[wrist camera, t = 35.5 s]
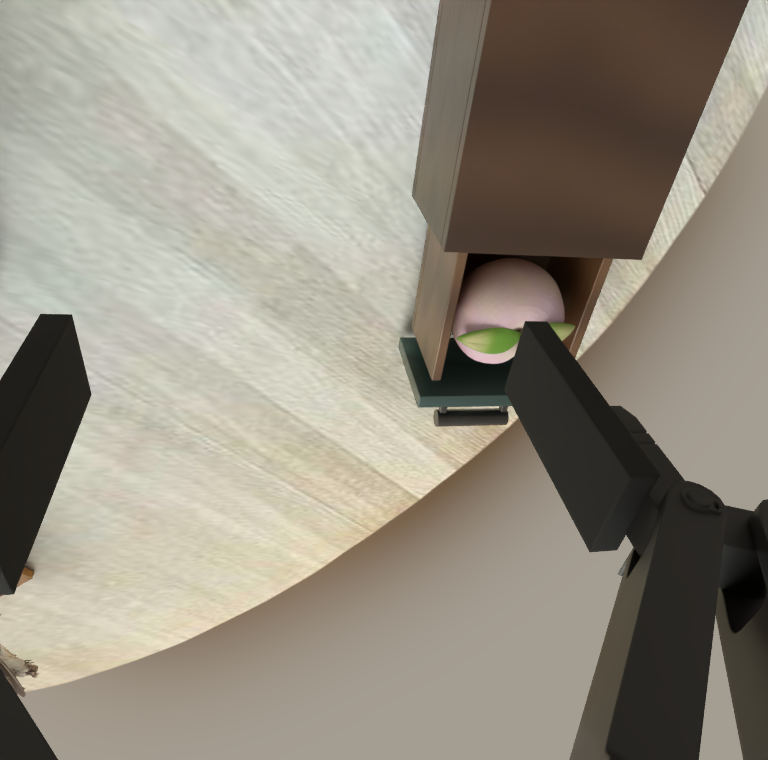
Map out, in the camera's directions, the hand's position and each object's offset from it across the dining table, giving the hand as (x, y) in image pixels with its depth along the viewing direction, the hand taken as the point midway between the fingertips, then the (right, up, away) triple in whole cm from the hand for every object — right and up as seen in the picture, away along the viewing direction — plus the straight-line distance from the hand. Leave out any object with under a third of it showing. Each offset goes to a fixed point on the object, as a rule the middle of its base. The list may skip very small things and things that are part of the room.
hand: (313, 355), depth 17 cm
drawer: (+11, +7, +35) cm, 37 cm away
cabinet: (+13, +21, +25) cm, 36 cm away
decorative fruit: (+11, +8, +33) cm, 36 cm away
